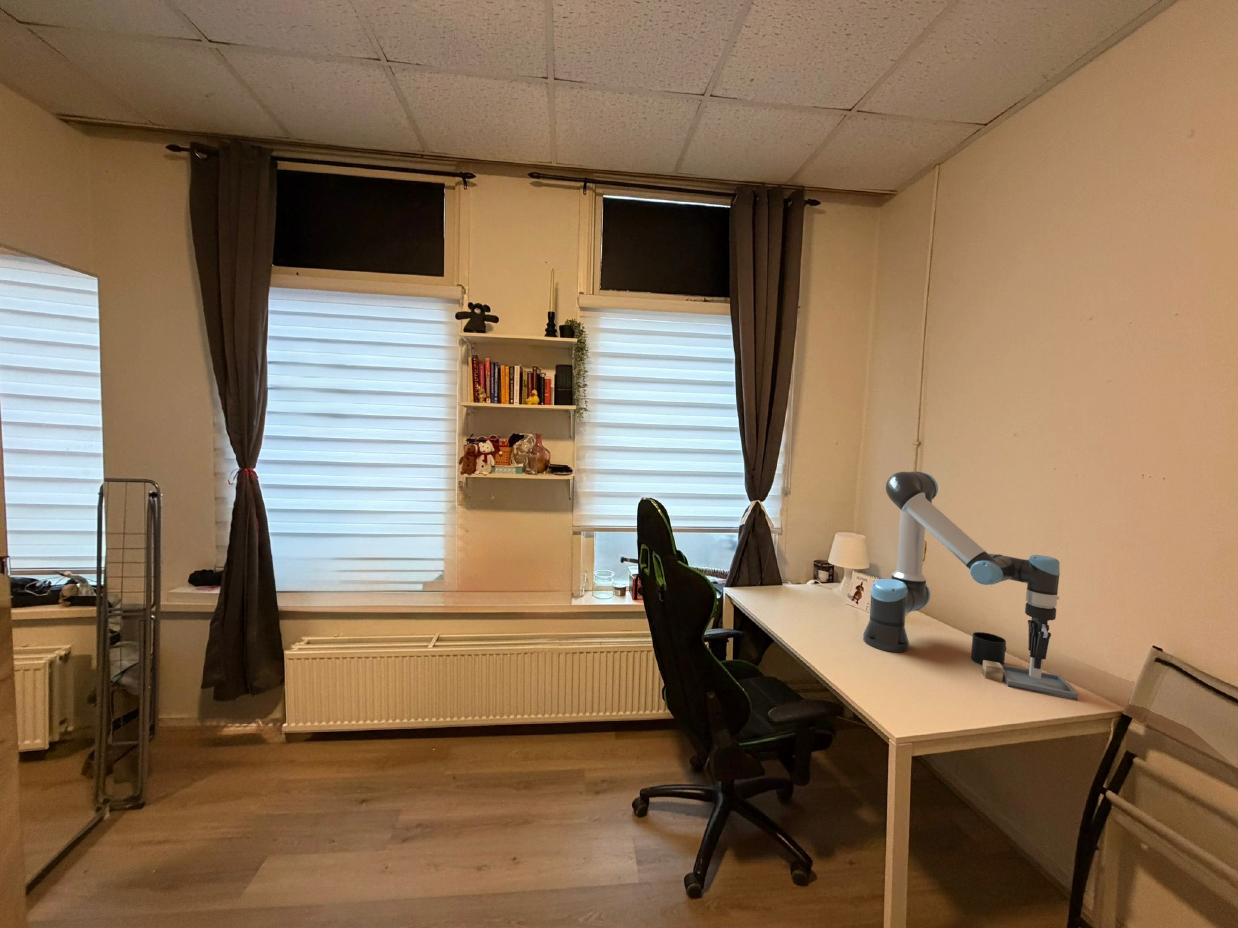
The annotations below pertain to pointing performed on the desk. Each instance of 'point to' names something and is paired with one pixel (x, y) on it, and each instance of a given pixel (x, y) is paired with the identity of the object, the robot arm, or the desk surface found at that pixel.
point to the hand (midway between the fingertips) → (1034, 676)
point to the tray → (1038, 682)
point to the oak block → (992, 670)
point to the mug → (988, 648)
